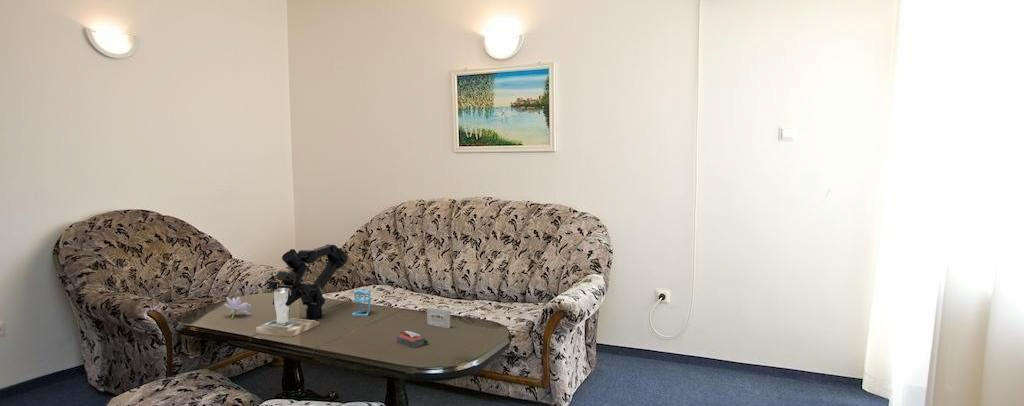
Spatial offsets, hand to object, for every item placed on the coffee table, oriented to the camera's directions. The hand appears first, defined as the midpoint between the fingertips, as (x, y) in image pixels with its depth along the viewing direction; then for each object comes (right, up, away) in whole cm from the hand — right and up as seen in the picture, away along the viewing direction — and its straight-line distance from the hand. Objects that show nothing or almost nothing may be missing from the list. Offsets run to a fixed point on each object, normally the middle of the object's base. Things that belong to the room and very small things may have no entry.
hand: (280, 305), depth 251 cm
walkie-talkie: (+57, -13, -13) cm, 60 cm away
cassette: (+67, -10, +7) cm, 68 cm away
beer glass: (0, -9, +3) cm, 9 cm away
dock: (+2, -11, +5) cm, 12 cm away
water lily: (-29, -10, +26) cm, 40 cm away
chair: (+28, -9, +28) cm, 41 cm away
